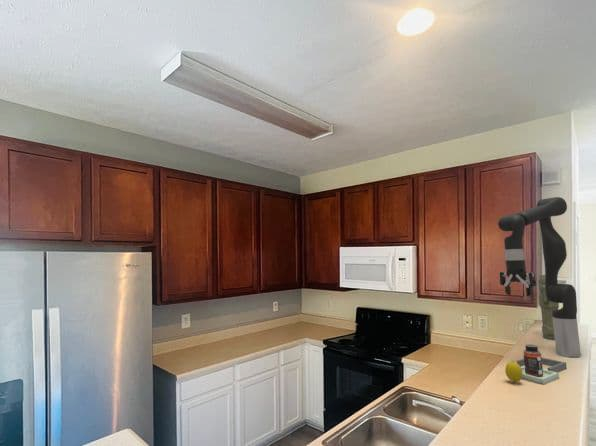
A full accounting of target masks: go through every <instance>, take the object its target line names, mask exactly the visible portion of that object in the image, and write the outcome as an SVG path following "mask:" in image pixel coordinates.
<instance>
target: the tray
mask: <svg viewBox="0 0 596 446" xmlns="http://www.w3.org/2000/svg"><path fill="white" fill-rule="evenodd" d="M521 369H522V378H521V380H524V381H529V382H532V383H535V384H538V385H542V386H544V385H547V384H550V383H551V382H554V381H556V380H559V379H560V372H552V371H548V369H543V376H541V377H535V376H531V375H528V374H526V373H525V365H524V366H521Z"/></svg>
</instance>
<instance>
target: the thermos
mask: <svg viewBox="0 0 596 446" xmlns="http://www.w3.org/2000/svg"><path fill="white" fill-rule="evenodd" d="M538 289H539V296H538V300H539V307H540V311H541V320H542V321H541V323H542V325H541V332H542V336H543V337H542V338H543V339H546V340H549V341H555V335H554V326H553V317H552V312H553V311H554V310H559V309H560V303H555V302H550V301H549V300H548V299H547V296H546V291H545V274H544V275H540V276H539V278H538Z"/></svg>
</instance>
